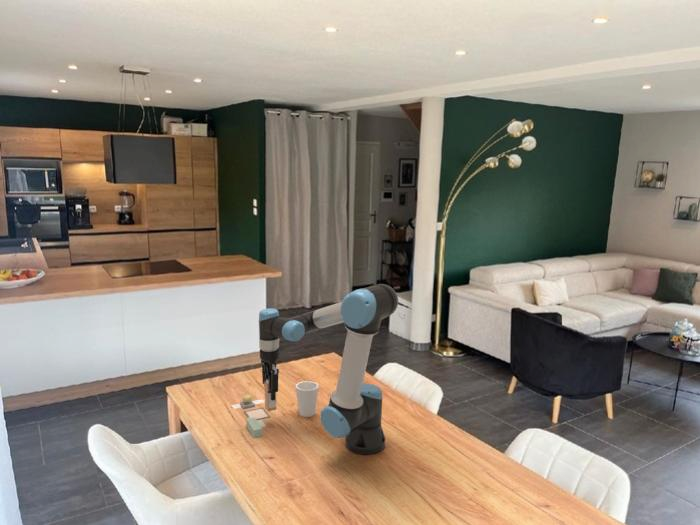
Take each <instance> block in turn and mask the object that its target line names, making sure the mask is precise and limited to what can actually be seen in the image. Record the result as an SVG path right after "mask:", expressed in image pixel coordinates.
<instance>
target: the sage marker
mask: <svg viewBox="0 0 700 525" xmlns="http://www.w3.org/2000/svg"><path fill="white" fill-rule="evenodd" d="M245 423H246V429H247V430H248V431H249V433H250V435H251V437H253V438H254V439H255V438H260V437H263V432H264V431H263V430H264V429H263V428H264V427H261V425H260V424H259V422H258V421H257V420H256V418H255V417H254V418H252V417H249V418H248V417H247V418H246V420H245Z"/></svg>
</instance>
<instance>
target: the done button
mask: <svg viewBox="0 0 700 525" xmlns="http://www.w3.org/2000/svg"><path fill="white" fill-rule="evenodd" d="M252 396H253V395H252V394H251V393H244V394H243V395H242V402H243V401H244V402H249V401H251V400H252ZM252 401H253V400H252Z"/></svg>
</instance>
